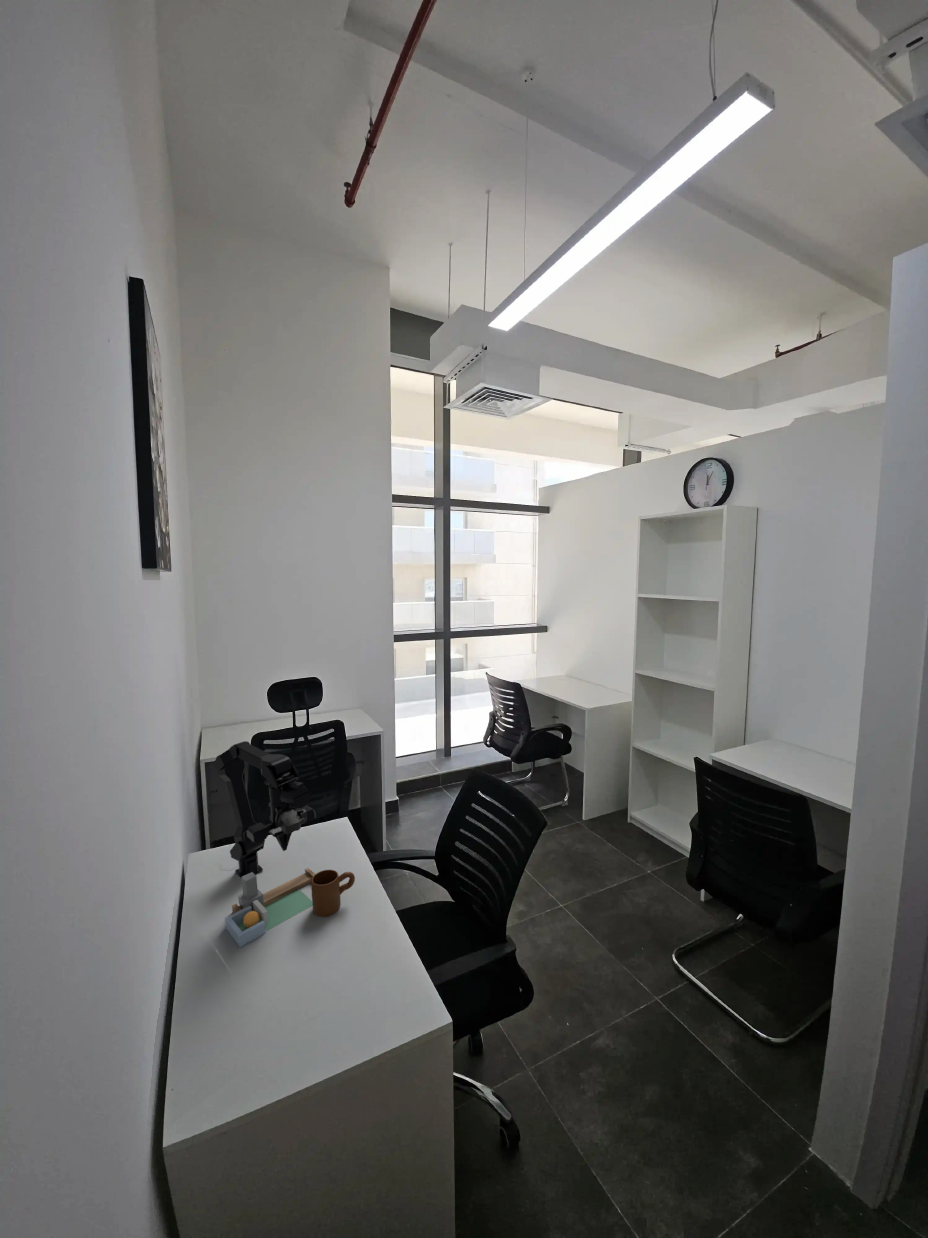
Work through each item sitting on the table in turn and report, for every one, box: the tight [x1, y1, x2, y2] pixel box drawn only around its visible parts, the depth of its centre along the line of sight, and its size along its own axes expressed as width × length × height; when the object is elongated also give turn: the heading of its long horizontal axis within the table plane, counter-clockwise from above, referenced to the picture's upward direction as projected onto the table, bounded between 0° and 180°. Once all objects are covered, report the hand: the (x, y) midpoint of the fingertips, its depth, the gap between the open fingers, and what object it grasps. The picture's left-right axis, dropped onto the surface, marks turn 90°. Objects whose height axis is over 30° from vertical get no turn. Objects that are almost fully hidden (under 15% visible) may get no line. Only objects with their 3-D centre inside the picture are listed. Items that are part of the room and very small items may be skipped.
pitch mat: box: [237, 889, 313, 932], centre depth 135 cm, size 10×21×1 cm, turn 135°
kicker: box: [237, 872, 268, 923], centre depth 135 cm, size 12×5×9 cm, turn 45°
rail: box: [231, 867, 316, 914], centre depth 143 cm, size 5×23×2 cm, turn 135°
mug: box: [310, 869, 356, 918], centre depth 137 cm, size 12×8×9 cm, turn 112°
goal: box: [224, 906, 267, 948], centre depth 129 cm, size 10×7×3 cm, turn 45°
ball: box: [243, 911, 259, 928], centre depth 130 cm, size 4×4×4 cm
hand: (284, 850), depth 144 cm, fingers closed
